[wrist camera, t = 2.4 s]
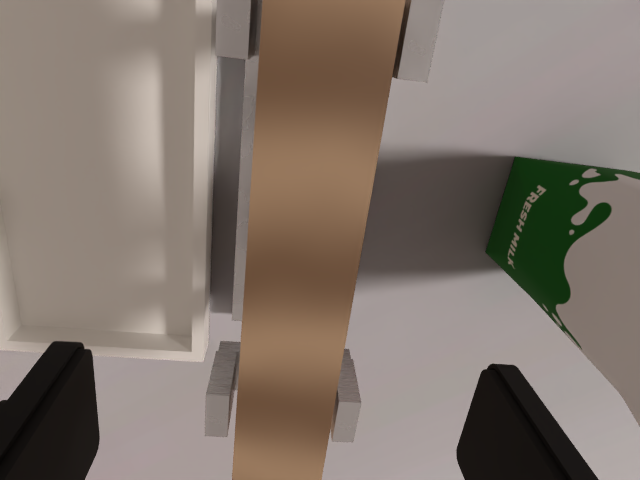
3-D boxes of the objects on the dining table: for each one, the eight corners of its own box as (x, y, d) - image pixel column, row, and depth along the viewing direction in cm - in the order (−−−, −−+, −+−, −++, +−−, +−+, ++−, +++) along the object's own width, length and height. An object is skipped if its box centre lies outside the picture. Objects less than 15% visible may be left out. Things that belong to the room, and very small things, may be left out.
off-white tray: (-69, -156, 22) (-109, -177, 19) (222, -108, 23) (215, -123, 21) (15, 328, 33) (-4, 349, 30) (208, 341, 34) (203, 362, 32)
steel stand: (252, -39, 24) (216, -109, 12) (381, -20, 25) (462, -70, 13) (233, 310, 33) (201, 464, 21) (329, 317, 34) (349, 469, 22)
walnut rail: (274, -77, 15) (269, -111, 12) (390, -58, 16) (420, -87, 12) (240, 416, 24) (231, 484, 20) (315, 420, 25) (320, 487, 21)
